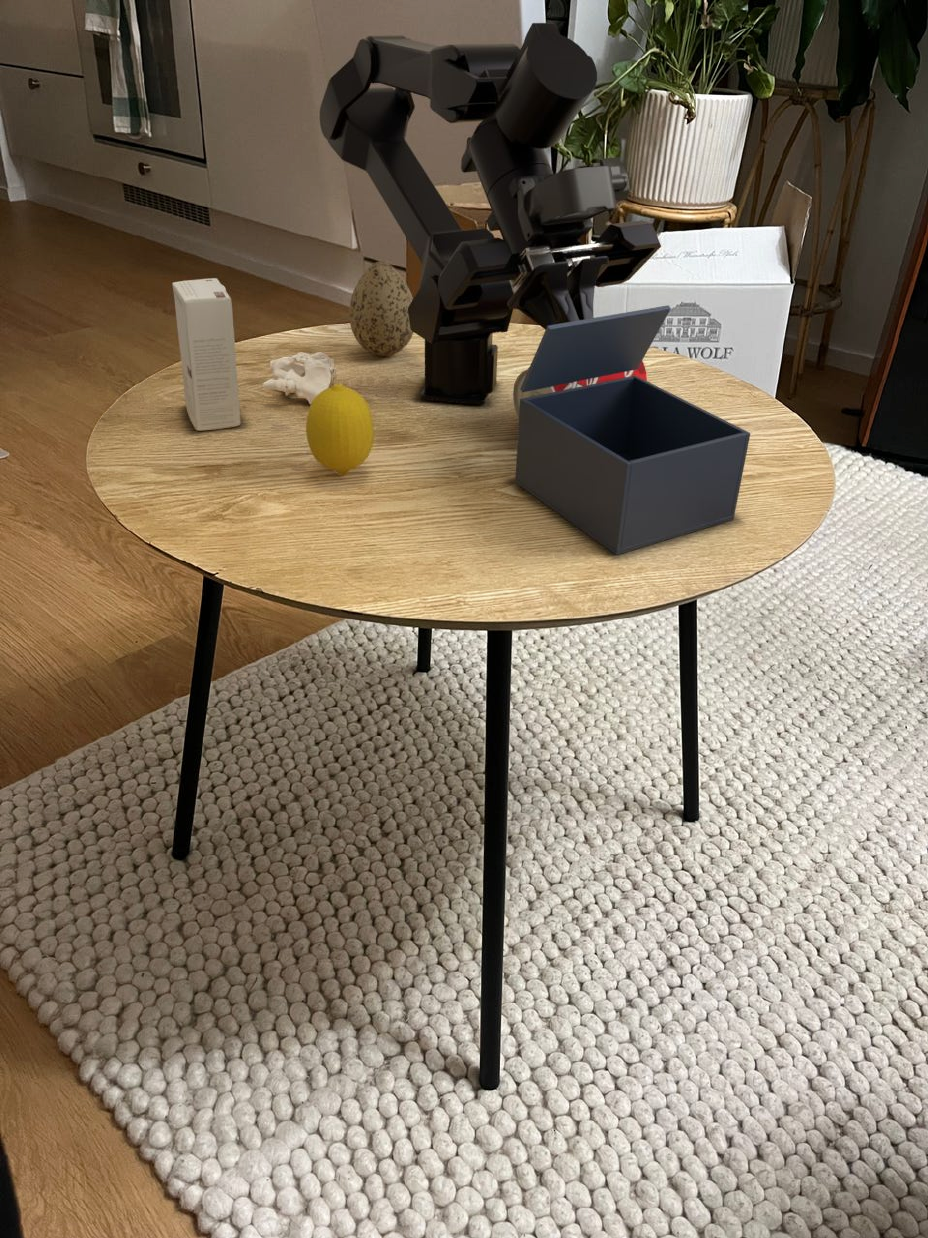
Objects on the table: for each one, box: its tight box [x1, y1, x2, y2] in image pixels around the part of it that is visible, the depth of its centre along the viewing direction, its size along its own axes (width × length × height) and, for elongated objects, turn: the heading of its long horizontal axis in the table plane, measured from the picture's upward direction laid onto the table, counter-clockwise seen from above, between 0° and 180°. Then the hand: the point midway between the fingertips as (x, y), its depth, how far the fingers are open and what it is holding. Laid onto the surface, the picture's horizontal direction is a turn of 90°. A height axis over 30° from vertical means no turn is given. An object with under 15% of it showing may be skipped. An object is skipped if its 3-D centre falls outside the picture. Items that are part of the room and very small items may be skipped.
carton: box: [514, 376, 751, 556], centre depth 79 cm, size 14×12×7 cm
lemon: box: [305, 382, 375, 476], centre depth 82 cm, size 6×6×8 cm
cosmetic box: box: [172, 277, 241, 432], centre depth 90 cm, size 6×4×12 cm
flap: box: [520, 304, 672, 392], centre depth 79 cm, size 7×12×1 cm
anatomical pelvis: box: [262, 351, 337, 405], centre depth 98 cm, size 8×4×7 cm
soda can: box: [512, 360, 648, 418], centre depth 93 cm, size 7×7×12 cm
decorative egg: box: [348, 260, 414, 357], centre depth 107 cm, size 7×7×10 cm
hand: (587, 357), depth 80 cm, fingers closed, pressing on flap
